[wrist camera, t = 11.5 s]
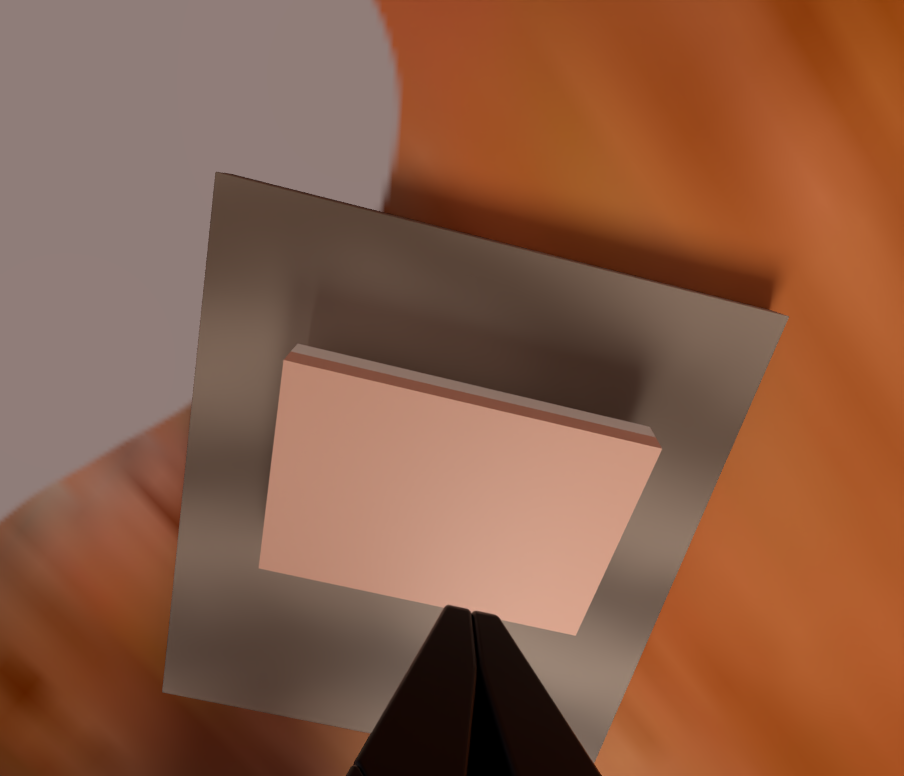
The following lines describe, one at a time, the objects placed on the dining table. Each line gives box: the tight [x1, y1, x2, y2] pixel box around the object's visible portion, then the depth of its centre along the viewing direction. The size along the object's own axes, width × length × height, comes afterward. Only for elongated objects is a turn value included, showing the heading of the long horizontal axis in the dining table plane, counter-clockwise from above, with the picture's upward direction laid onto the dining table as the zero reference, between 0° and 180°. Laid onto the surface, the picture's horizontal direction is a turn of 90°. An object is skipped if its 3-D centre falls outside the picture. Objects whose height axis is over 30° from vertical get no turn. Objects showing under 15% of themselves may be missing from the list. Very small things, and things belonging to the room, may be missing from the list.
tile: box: [259, 344, 662, 636], centre depth 16 cm, size 7×10×1 cm
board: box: [162, 172, 789, 763], centre depth 18 cm, size 18×16×1 cm
